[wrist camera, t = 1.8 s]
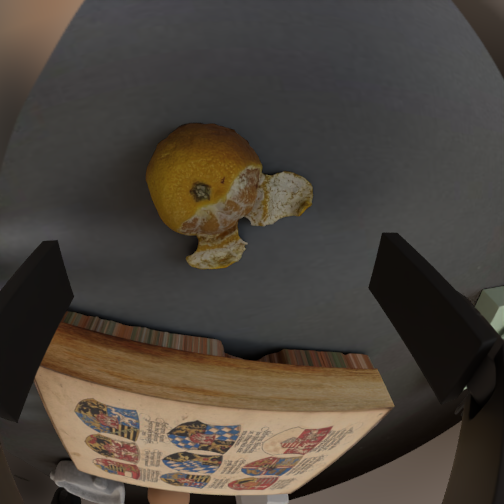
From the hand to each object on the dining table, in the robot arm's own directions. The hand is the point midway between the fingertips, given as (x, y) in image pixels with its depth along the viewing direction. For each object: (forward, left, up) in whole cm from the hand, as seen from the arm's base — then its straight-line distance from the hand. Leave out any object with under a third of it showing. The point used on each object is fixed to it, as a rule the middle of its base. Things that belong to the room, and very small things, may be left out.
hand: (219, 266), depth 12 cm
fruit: (0, 0, -7) cm, 7 cm away
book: (+22, -4, -7) cm, 23 cm away
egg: (+43, -10, -7) cm, 44 cm away
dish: (+48, -26, -7) cm, 55 cm away
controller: (+67, -40, -7) cm, 78 cm away
